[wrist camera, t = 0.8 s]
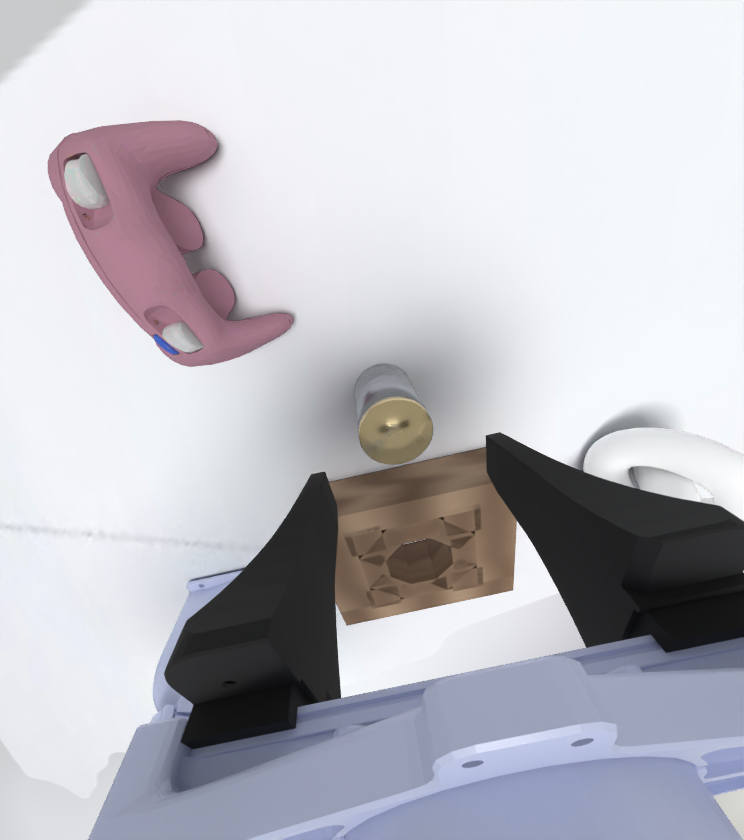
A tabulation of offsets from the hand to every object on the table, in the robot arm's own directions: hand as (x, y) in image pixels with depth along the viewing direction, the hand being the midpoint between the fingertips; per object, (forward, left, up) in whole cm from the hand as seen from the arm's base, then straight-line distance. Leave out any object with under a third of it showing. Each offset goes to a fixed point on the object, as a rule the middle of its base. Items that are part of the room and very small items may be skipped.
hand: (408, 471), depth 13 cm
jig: (0, -14, -9) cm, 17 cm away
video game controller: (-8, +10, -9) cm, 16 cm away
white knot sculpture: (+18, -13, -9) cm, 24 cm away
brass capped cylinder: (0, 0, -9) cm, 9 cm away
